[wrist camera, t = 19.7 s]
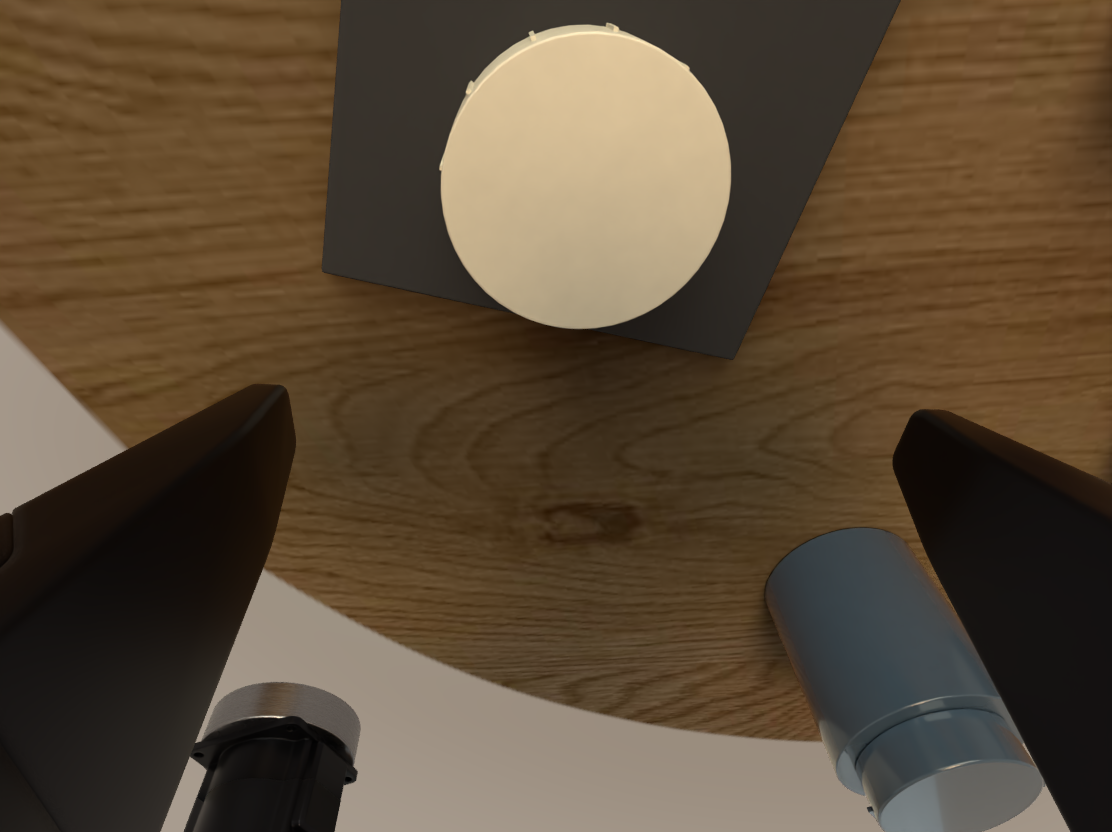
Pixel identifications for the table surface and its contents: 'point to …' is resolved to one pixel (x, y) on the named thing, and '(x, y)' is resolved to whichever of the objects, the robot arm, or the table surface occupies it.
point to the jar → (898, 686)
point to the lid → (584, 177)
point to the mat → (647, 13)
